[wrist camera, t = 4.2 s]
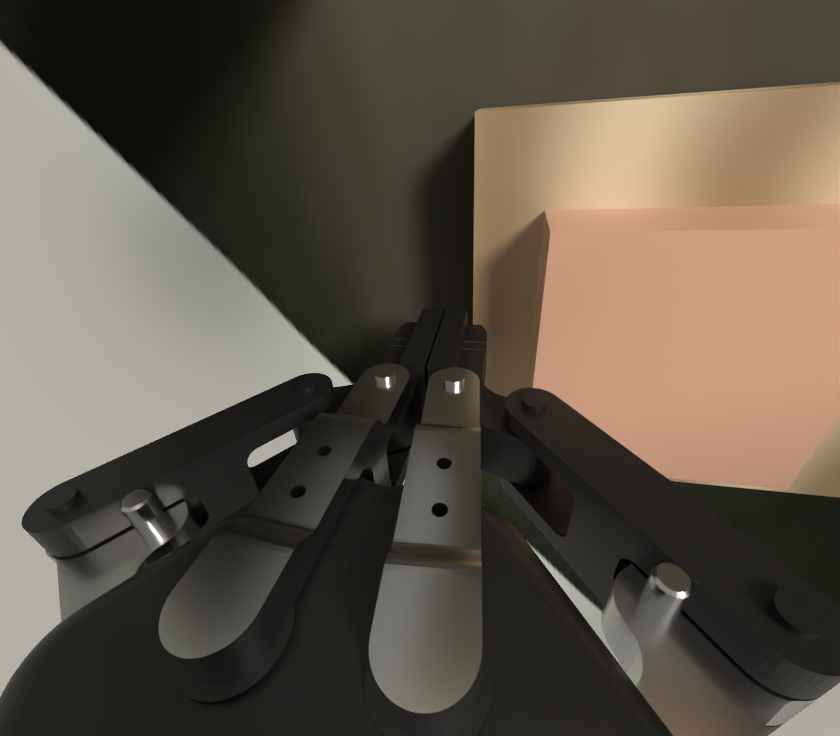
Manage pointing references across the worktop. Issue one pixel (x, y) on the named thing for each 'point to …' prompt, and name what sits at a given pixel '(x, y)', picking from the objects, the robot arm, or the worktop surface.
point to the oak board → (639, 193)
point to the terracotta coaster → (695, 333)
